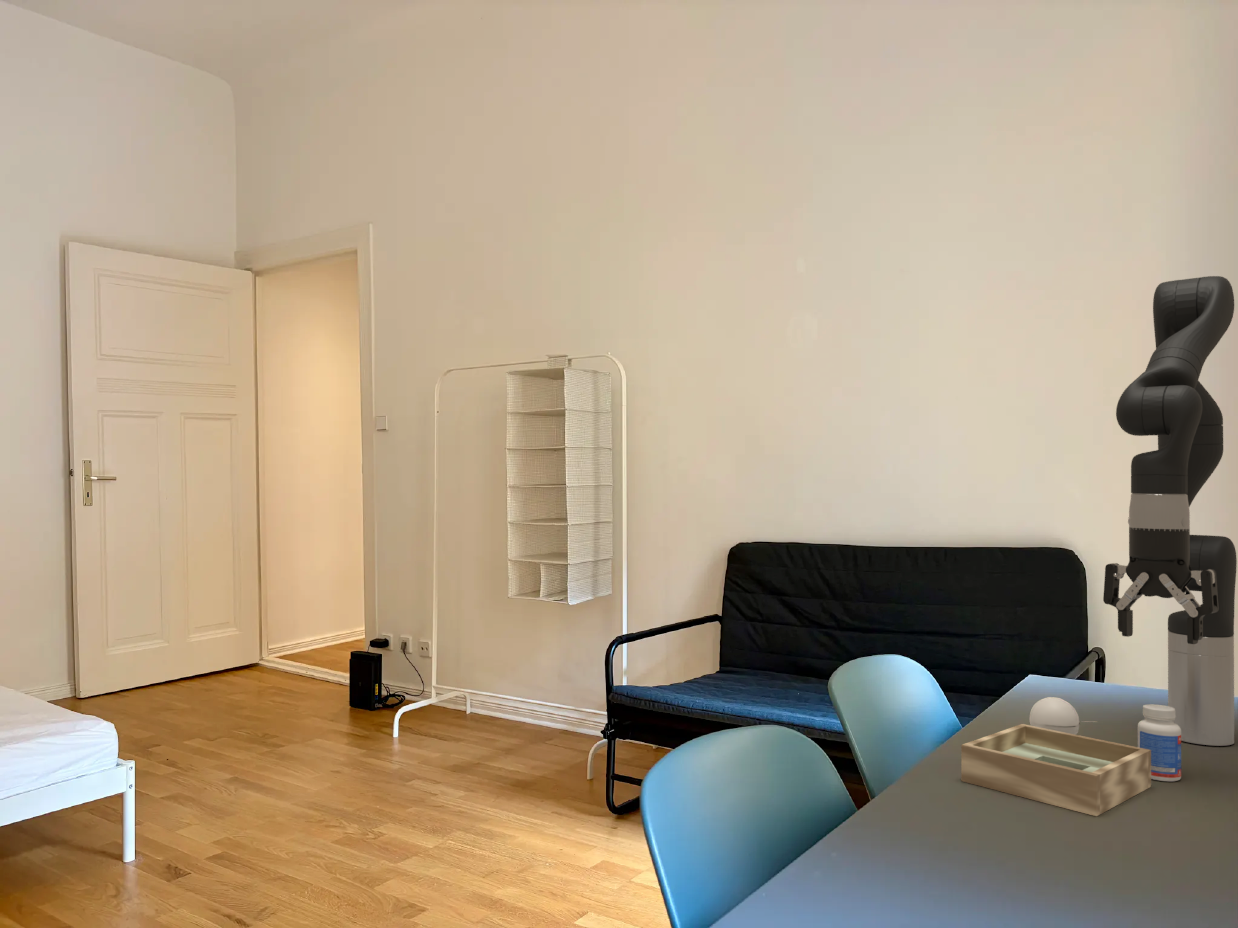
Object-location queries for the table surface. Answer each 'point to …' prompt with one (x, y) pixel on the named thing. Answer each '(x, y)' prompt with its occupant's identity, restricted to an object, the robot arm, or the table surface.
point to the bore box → (1057, 768)
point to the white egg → (1055, 715)
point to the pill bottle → (1161, 741)
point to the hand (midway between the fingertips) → (1159, 639)
